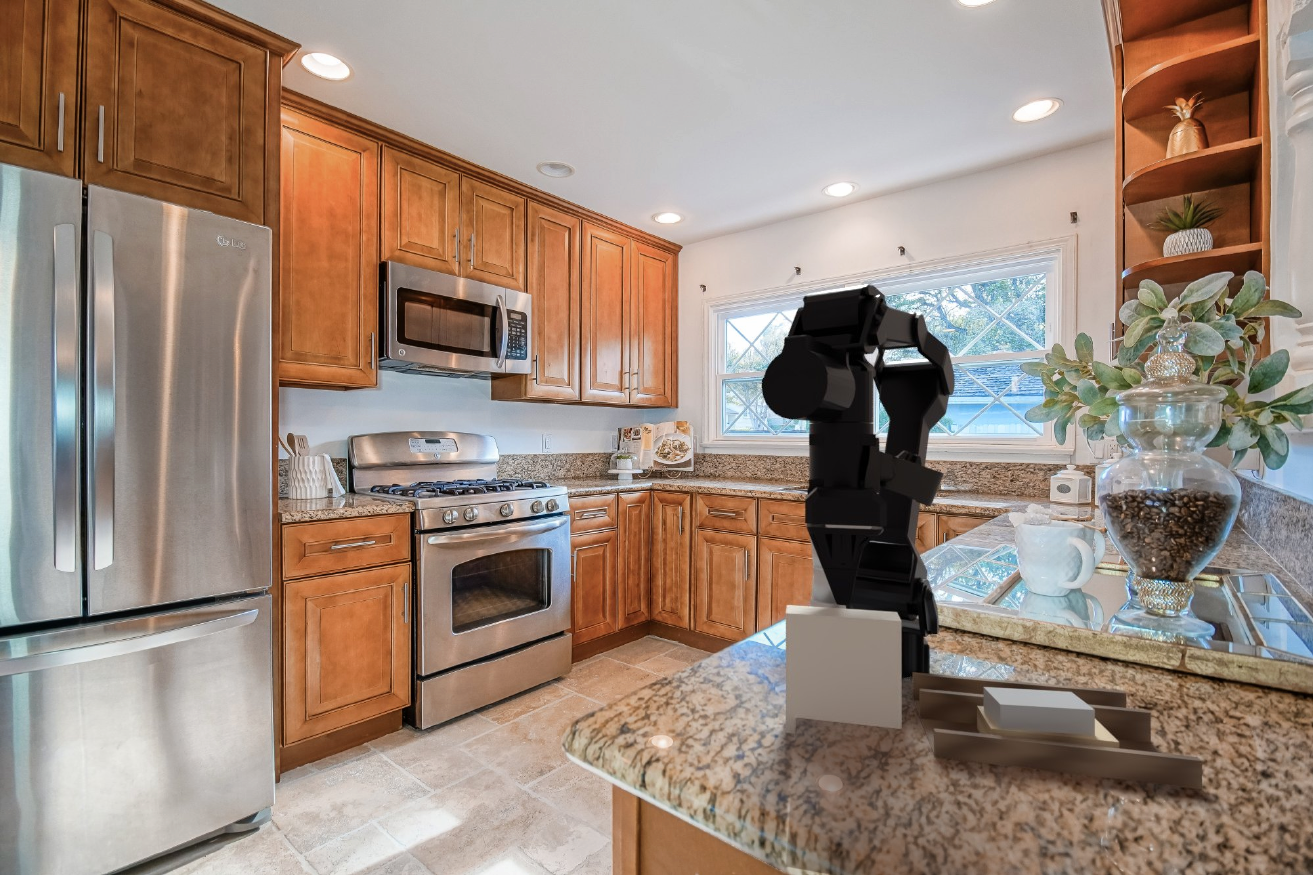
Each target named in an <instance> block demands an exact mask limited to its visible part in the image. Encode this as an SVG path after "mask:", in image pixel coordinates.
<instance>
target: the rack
mask: <svg viewBox="0 0 1313 875" xmlns="http://www.w3.org/2000/svg"><path fill="white" fill-rule="evenodd" d="M984 687H994V688H1012V689H1030V690H1047V691H1065V692H1072V693H1073V694H1075V695H1076V696H1077V697H1079V698H1080V699H1081V700H1083V701H1084V702H1085V703H1086V704H1088V705H1089V706H1090V707H1092V708H1093V709H1094V710H1095V719H1096V720H1097V721H1098V722H1099V723H1100V724H1101V725H1102V726H1103V727H1104V728H1105V729H1106V730H1107V731H1108V732H1109V733H1110V734H1111V735H1112V736H1114V737H1115V738H1116V739H1117V740H1118V741H1119V748H1110V747H1101V746H1091V745H1082V744H1073V743H1064V742H1054V741H1045V740H1036V739H1027V738H1017V737H1008V736H999V735H990V734H981V733H979V731H978V729H977V706H984ZM909 692H910V695H911V697H912V699H913V703H914V705H915V708H916V711H917V714H918V716H919V719H920V722H921V723H922V726H923V729H924V732H925V735H926V737H927V739H928V742H929V745H930V747H931V750H932V753H933V756H934V758H937V759H947V760H952V761H954V760H955V761H961V762H963V761H964V762H971V763H977V764H978V763H980V764H986V765H987V764H988V765H996V766H1004V767H1013V768H1022V769H1029V770H1036V771H1037V770H1039V771H1046V772H1054V773H1055V772H1056V773H1062V774H1071V775H1079V776H1088V777H1096V778H1106V779H1111V780H1112V779H1114V780H1122V781H1129V782H1130V781H1131V782H1137V783H1147V784H1154V785H1163V786H1170V787H1172V786H1173V787H1179V788H1188V789H1189V788H1190V789H1197V790H1203V760H1202V759H1200V758H1199V757H1198V756H1192V755H1181V754H1174V753H1163V752H1162V751H1161V750H1160V749H1159V748H1158V747H1157V746H1156V745H1154V744H1153V743H1152V726H1151V724H1152V720H1151V719H1152V712H1150V711H1149V710H1148V709H1140V708H1129V707H1127V693H1126V692H1125V691H1124V690H1119V689H1118V690H1117V689H1107V688H1098V687H1096V688H1095V687H1084V686H1073V685H1061V684H1052V683H1051V684H1050V683H1039V682H1027V681H1017V680H1007V679H1006V680H1004V679H995V678H984V677H972V676H971V677H970V676H959V675H949V674H947V675H946V674H940V673H939V674H938V673H937V674H936V673H930V674H927V673H916V672H913V677H912V691H909Z"/></svg>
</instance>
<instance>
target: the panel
mask: <svg viewBox="0 0 1313 875" xmlns="http://www.w3.org/2000/svg"><path fill="white" fill-rule="evenodd" d="M902 679H903V678H902V673H901V619H900V617H899V615H898V613H897V612H888V611H873V610H857V609H842V608H826V607H811V606H808V605H793V604H787V605H786V609H785V733H786V734H793V735H795V734H796V729H797V728H796V727H797V726H796V725H797V724H796V723H797V719H806V720H814V721H823V722H824V721H825V722H832V723H833V722H834V723H841V724H842V723H844V724H852V725H861V726H870V727H879V728H888V729H898V730H902V729H903V727H902V726H903V725H902V723H903V722H902V720H903V719H902V714H903V713H902V710H903V709H902V697H903V696H902V693H903V692H902V691H903V690H902V682H903V681H902Z"/></svg>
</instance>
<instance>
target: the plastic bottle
mask: <svg viewBox="0 0 1313 875" xmlns="http://www.w3.org/2000/svg"><path fill="white" fill-rule="evenodd" d="M809 538H810V537H809ZM809 540H810V547H811V554H812V565H813V567H812V575H813V576H812V585H811V586H812V588H811V598H810V600H809V601H810V602H809V606H811V607H826V608H842V609H846V605H837V604H836V602H835V599H834V597H833V594H832V592H831V589H830V586H829V584H828V581H827V579H826V576H825V573H824V571H823V568H822V566H821V563H820V561H819V558H818V556H817V553H816V551H815V548H814V545H813V543H812V540H811V538H810V539H809Z"/></svg>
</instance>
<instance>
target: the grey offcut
mask: <svg viewBox="0 0 1313 875" xmlns="http://www.w3.org/2000/svg"><path fill="white" fill-rule="evenodd" d="M984 711H985V712H986V713H987V714H988V716H989V717H990V718H991V719H992V720H993V721H994V722H995V724H996V725H997V726H998V727H999V728H1000V729H1007V730H1022V731H1037V732H1053V733H1068V734H1084V735H1095V710H1094V709H1093V708H1092V707H1090V706H1089V705H1088V704H1086V703H1085V702H1084V701H1083V700H1081V699H1080V698H1079V697H1077V696H1076V695H1075V694H1073V693H1072V692H1065V691H1047V690H1030V689H1012V688H994V687H984Z"/></svg>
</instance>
